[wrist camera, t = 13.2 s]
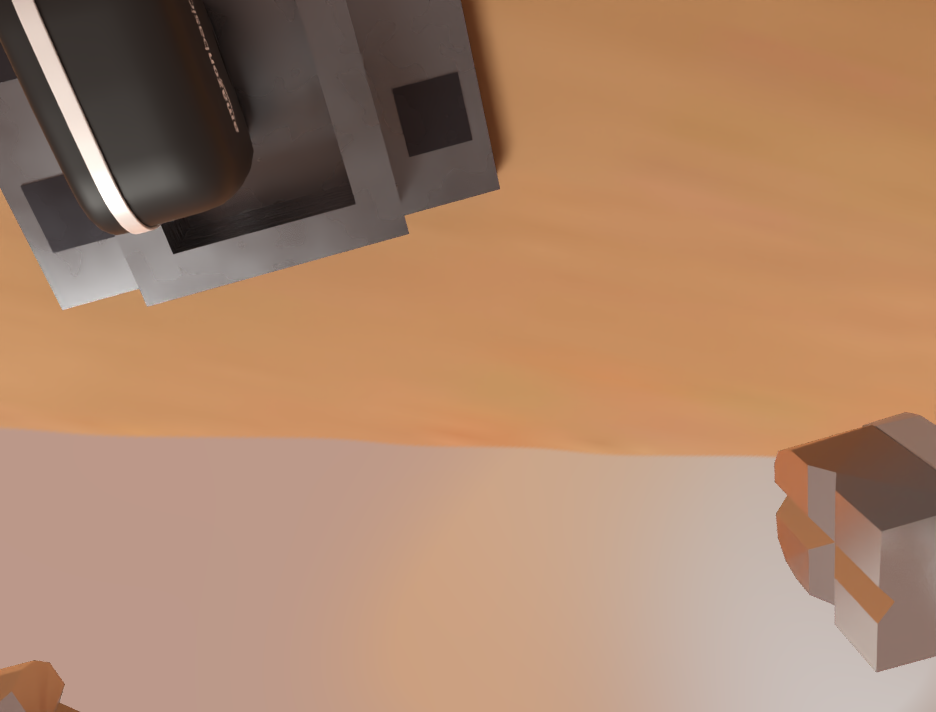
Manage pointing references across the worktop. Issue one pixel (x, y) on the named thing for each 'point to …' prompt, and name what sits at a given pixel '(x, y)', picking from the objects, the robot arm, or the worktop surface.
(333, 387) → the worktop surface
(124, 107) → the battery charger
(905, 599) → the robot arm
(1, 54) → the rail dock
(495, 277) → the worktop surface
